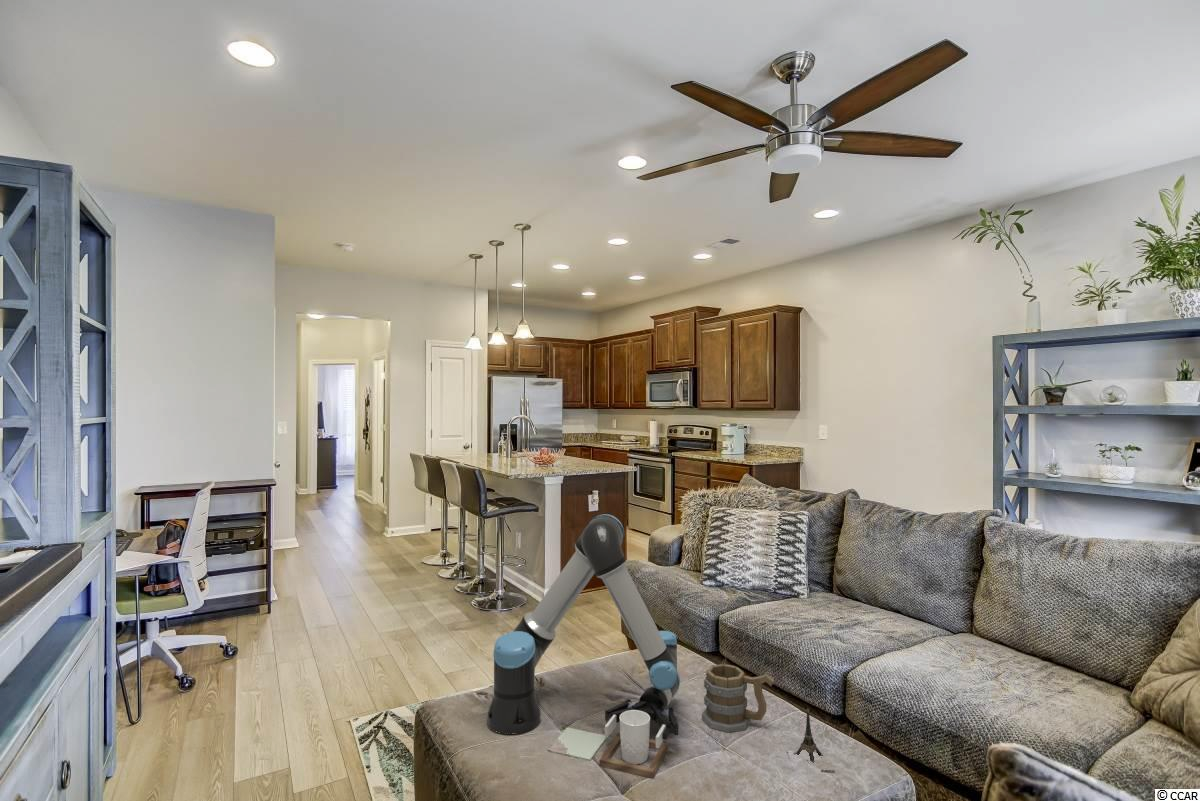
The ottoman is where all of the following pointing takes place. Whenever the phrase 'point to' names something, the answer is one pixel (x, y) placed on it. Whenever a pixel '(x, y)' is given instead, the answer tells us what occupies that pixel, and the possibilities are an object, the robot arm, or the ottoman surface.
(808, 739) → the eiffel tower figurine
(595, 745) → the sage tile
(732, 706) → the tankard
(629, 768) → the walnut collar
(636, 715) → the white cup
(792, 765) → the ottoman surface
